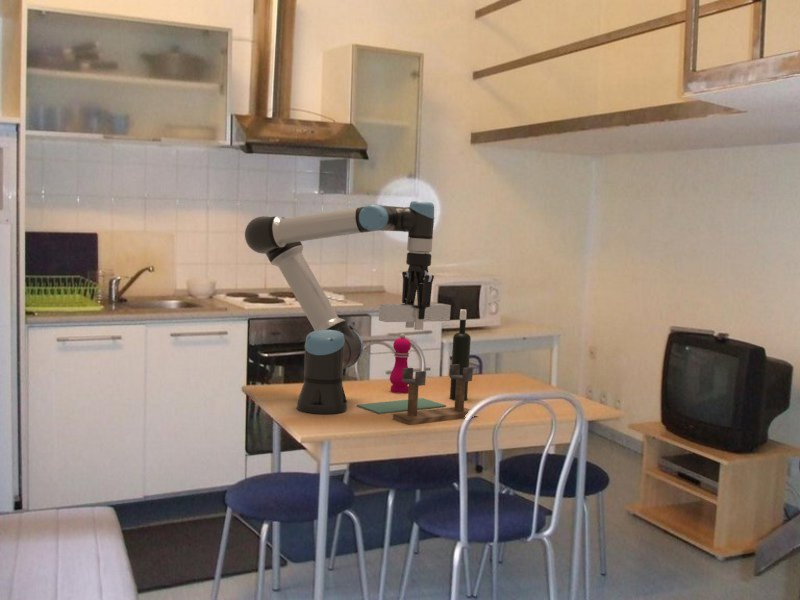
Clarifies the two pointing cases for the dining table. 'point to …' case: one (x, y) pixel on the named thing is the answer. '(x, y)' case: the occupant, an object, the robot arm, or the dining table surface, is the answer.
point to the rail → (413, 312)
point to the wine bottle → (460, 353)
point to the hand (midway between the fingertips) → (414, 328)
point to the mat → (398, 406)
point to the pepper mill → (400, 364)
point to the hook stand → (436, 414)
